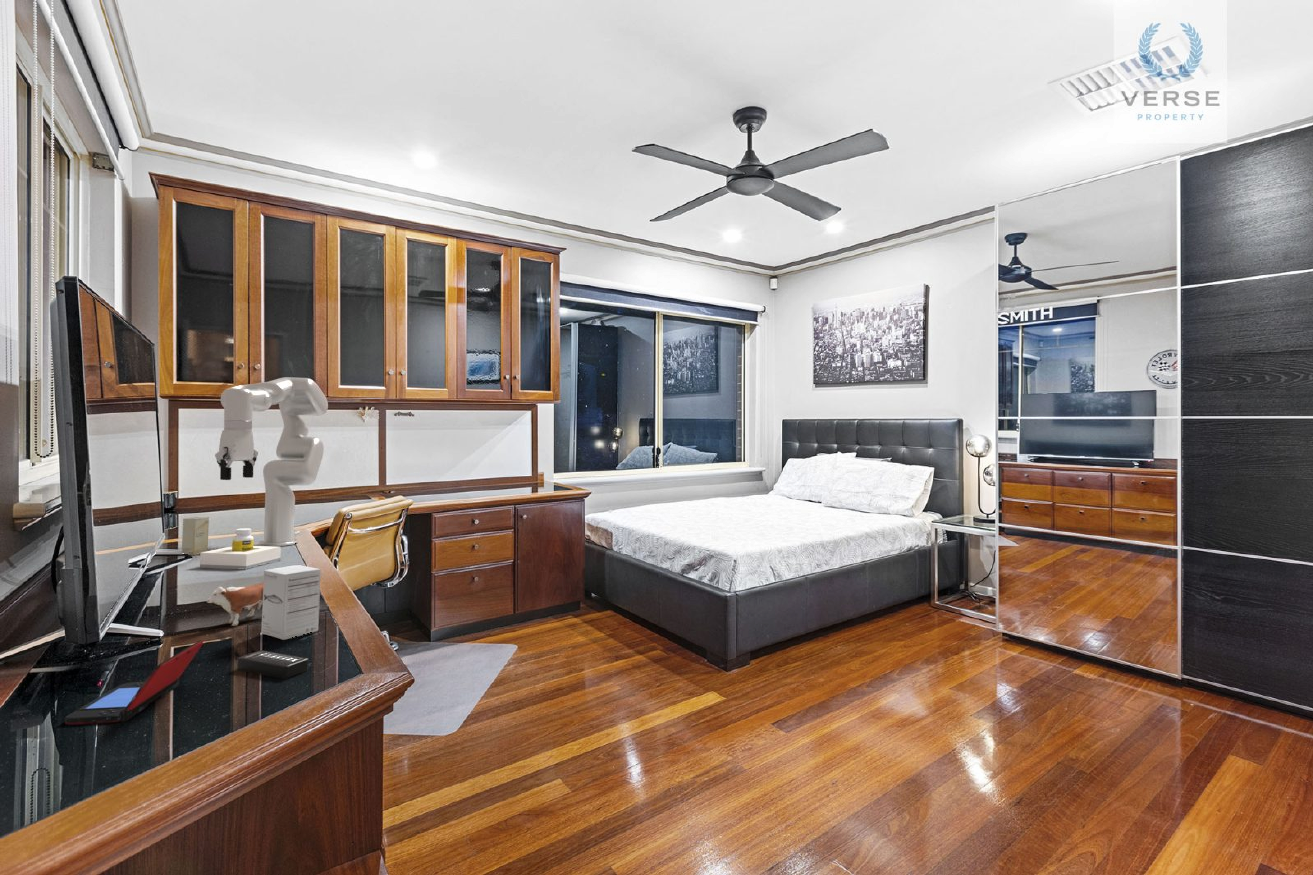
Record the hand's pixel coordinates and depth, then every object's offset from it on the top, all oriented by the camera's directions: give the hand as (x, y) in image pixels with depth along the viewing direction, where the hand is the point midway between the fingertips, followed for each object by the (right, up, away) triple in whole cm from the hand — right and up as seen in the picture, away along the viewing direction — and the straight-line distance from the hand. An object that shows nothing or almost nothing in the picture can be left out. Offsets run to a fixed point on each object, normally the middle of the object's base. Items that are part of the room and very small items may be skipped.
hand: (237, 478), depth 196 cm
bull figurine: (+50, -25, -70) cm, 90 cm away
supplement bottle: (+8, -25, -10) cm, 28 cm away
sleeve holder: (+8, -26, -10) cm, 29 cm away
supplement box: (+64, -26, -77) cm, 104 cm away
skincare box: (-19, -26, +6) cm, 32 cm away
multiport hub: (+74, -26, -97) cm, 124 cm away
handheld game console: (+64, -25, -111) cm, 130 cm away
